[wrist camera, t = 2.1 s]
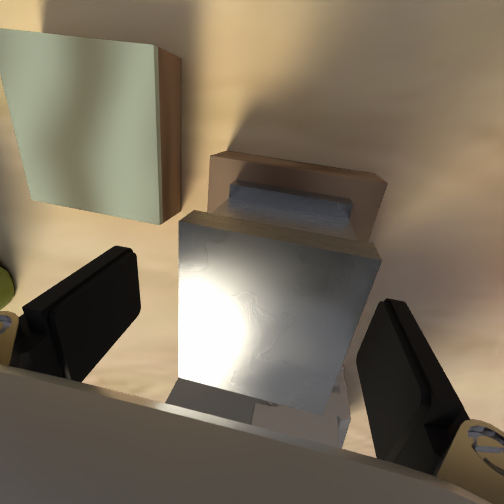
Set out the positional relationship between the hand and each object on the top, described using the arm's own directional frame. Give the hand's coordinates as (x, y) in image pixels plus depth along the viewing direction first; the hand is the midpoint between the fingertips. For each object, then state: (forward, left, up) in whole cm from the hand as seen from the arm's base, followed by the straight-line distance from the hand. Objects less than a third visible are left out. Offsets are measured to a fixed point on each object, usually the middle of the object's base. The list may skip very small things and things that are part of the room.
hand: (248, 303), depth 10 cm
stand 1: (+11, -4, -9) cm, 15 cm away
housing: (-1, 0, -6) cm, 6 cm away
